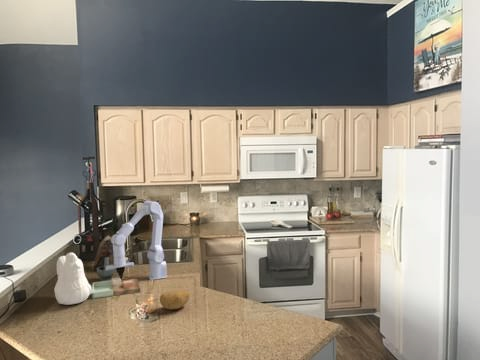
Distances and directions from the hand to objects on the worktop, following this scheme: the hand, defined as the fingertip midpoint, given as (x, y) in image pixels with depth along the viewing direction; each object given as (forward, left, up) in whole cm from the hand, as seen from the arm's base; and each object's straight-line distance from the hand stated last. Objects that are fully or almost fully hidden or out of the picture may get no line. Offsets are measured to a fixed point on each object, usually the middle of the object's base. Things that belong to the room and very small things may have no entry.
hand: (121, 281), depth 205 cm
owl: (+8, -38, -3) cm, 39 cm away
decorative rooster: (+23, +11, -3) cm, 26 cm away
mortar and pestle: (+7, -15, -3) cm, 17 cm away
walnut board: (-2, +6, -3) cm, 6 cm away
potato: (-22, +42, -3) cm, 47 cm away
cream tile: (+2, 0, -1) cm, 2 cm away
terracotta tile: (-3, +8, -1) cm, 8 cm away
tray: (+9, +6, -3) cm, 11 cm away
